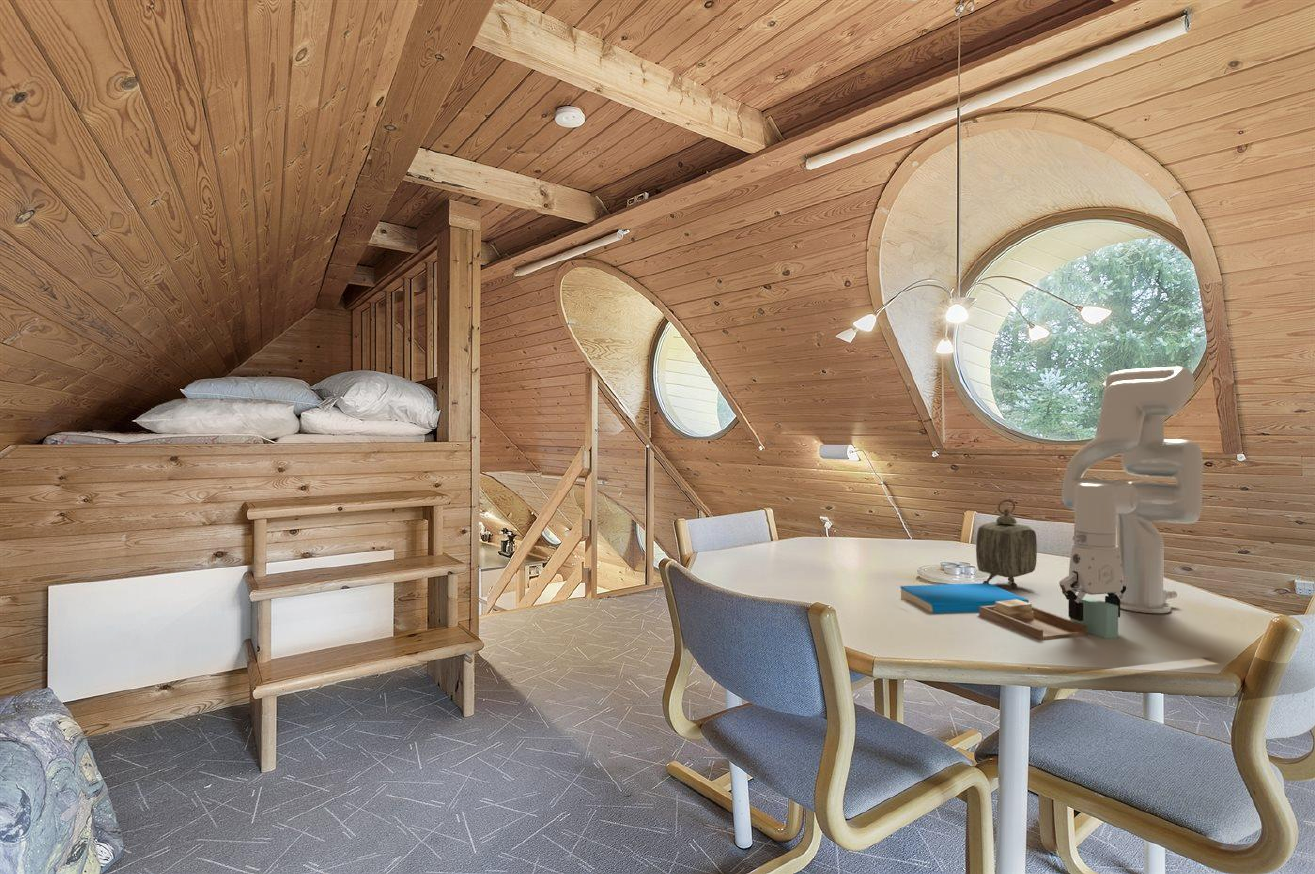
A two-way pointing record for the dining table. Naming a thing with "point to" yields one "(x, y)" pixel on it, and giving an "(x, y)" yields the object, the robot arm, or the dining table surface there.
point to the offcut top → (1013, 606)
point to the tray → (1037, 624)
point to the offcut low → (1019, 615)
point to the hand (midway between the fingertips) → (1094, 617)
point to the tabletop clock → (1006, 547)
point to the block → (1099, 617)
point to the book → (956, 596)
